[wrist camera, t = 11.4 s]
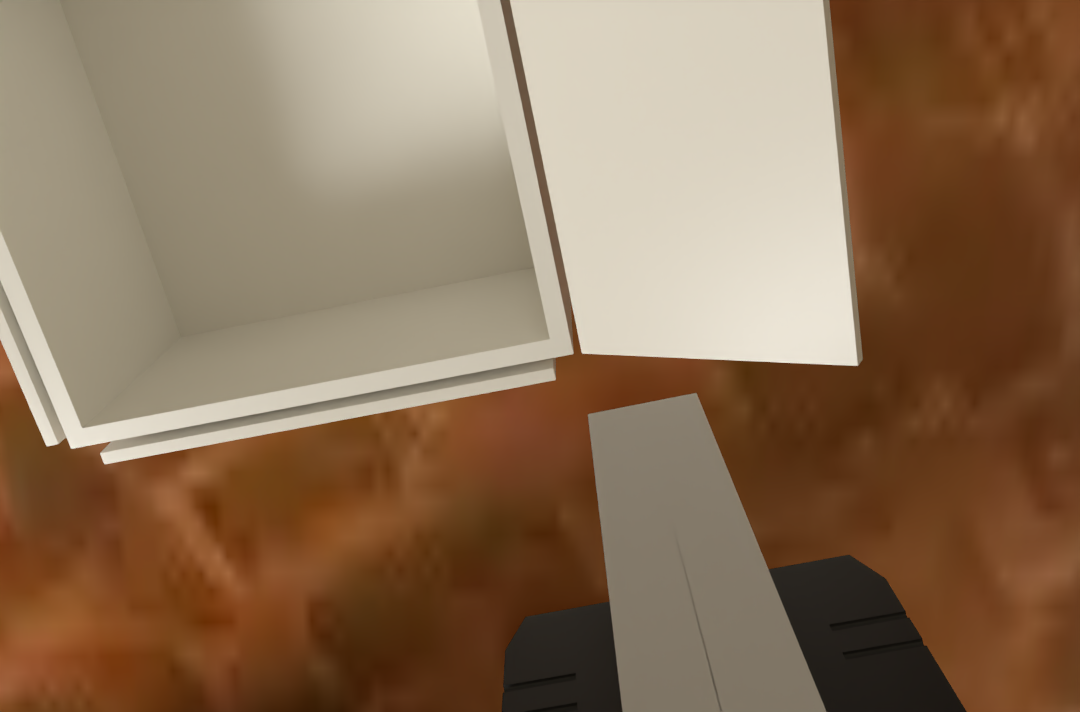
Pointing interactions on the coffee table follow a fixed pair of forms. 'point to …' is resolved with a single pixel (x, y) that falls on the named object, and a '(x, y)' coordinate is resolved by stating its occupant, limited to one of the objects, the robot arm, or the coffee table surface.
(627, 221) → the flap
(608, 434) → the robot arm
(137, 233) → the white open box
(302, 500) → the coffee table surface
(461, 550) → the coffee table surface
